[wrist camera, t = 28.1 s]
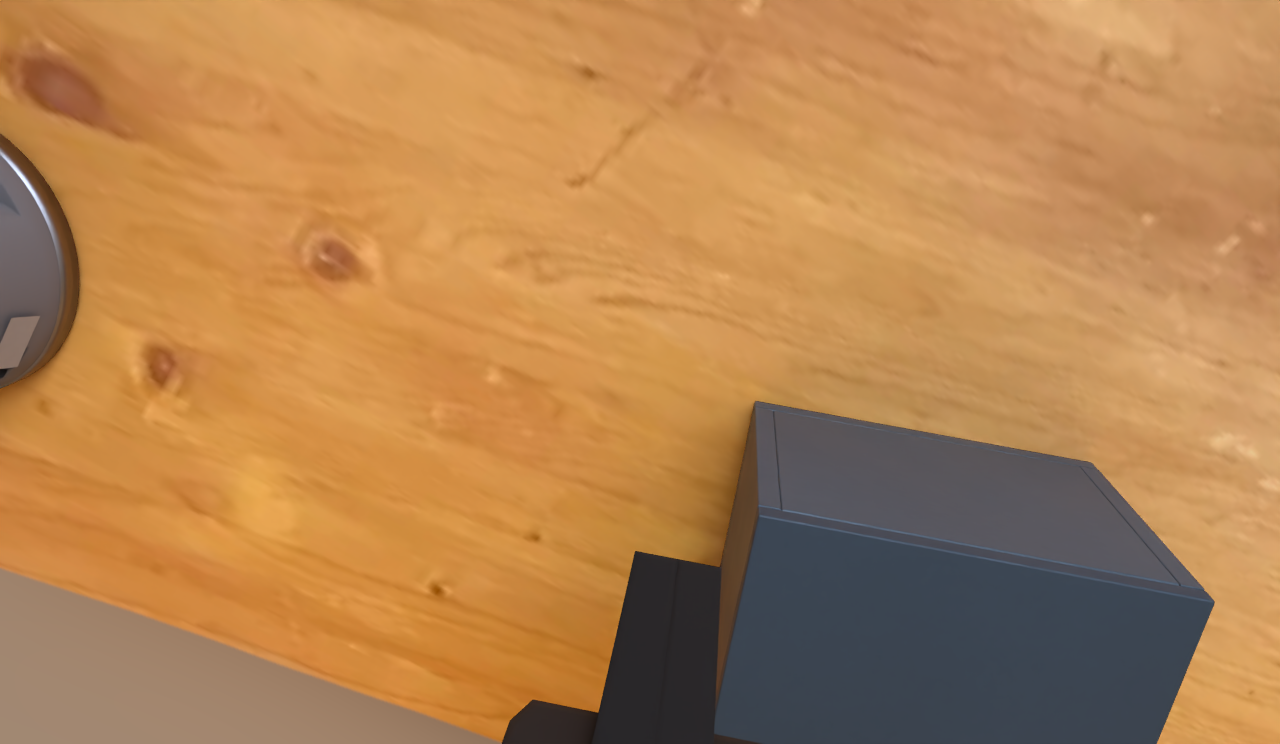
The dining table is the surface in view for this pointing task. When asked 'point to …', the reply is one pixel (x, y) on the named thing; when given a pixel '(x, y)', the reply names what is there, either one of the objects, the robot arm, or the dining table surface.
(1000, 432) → the dining table surface
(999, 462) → the box
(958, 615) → the lid
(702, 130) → the dining table surface
